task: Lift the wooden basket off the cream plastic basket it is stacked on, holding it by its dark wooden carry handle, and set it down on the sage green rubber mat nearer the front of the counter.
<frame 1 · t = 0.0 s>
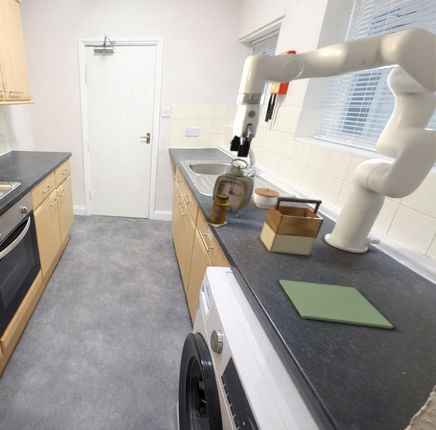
hand: (237, 154, 91), 31 cm above the worktop, tool pointing down, fingers open, 9 cm apart
wooden basket: (289, 229, 94), point 7 cm above the worktop, touching cream basket
condiment: (215, 222, 114), on the worktop
tabletop clock: (228, 212, 123), on the worktop
green mat: (329, 302, 71), on the worktop
cream basket: (283, 246, 97), on the worktop, touching wooden basket
trinket box: (262, 206, 131), on the worktop
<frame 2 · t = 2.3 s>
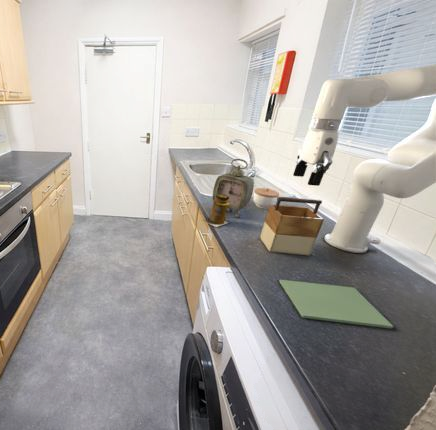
hand: (305, 180, 86), 25 cm above the worktop, tool pointing down, fingers open, 9 cm apart
nothing on the worktop moved.
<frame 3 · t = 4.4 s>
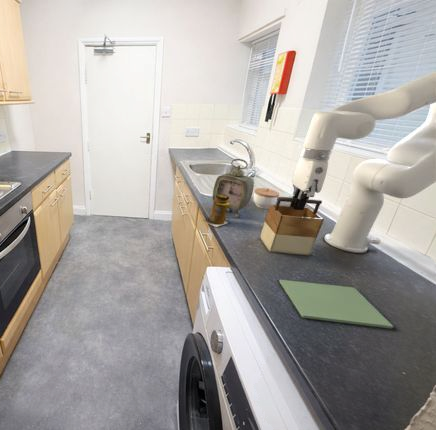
hand: (296, 208, 90), 15 cm above the worktop, tool pointing down, fingers closed on wooden basket
wooden basket: (289, 229, 94), point 7 cm above the worktop, touching cream basket, gripper
everything else where it was.
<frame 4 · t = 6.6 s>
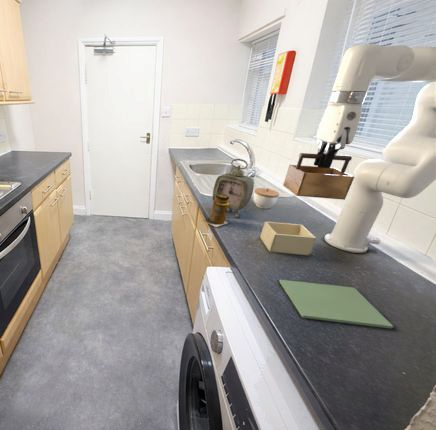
hand: (321, 166, 79), 31 cm above the worktop, tool pointing down, fingers closed on wooden basket
wooden basket: (311, 192, 82), point 23 cm above the worktop, touching gripper
cream basket: (283, 246, 97), on the worktop
everything else where it was.
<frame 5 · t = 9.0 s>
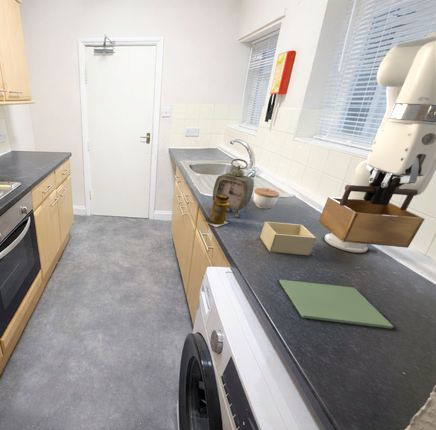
hand: (375, 201, 59), 29 cm above the worktop, tool pointing down, fingers closed on wooden basket
wooden basket: (359, 233, 63), point 21 cm above the worktop, touching gripper
everything else where it was.
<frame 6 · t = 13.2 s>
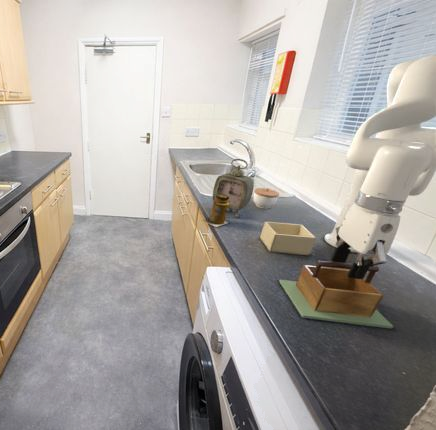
hand: (346, 268, 66), 11 cm above the worktop, tool pointing down, fingers open, 6 cm apart
wooden basket: (330, 300, 70), point 1 cm above the worktop, touching green mat
everything else where it was.
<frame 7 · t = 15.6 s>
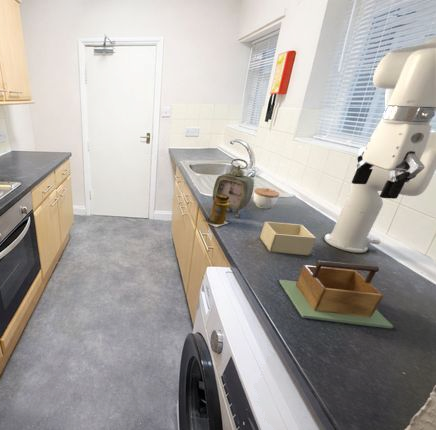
hand: (372, 190, 64), 30 cm above the worktop, tool pointing down, fingers open, 9 cm apart
nothing on the worktop moved.
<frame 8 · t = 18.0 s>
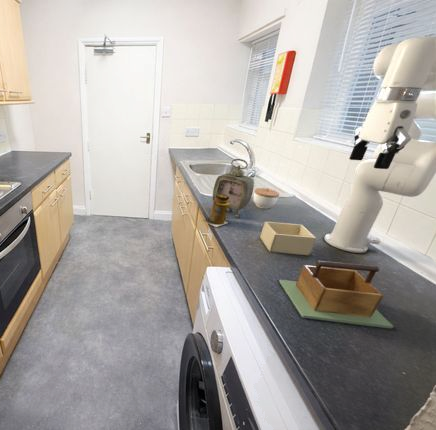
hand: (367, 163, 73), 33 cm above the worktop, tool pointing down, fingers open, 9 cm apart
nothing on the worktop moved.
at the end: wooden basket inside the target area on the green mat (0.1 cm from its centre), point 0.8 cm above the green mat's base; wooden basket tilted 0°; cream basket moved 0.0 cm from its start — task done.
